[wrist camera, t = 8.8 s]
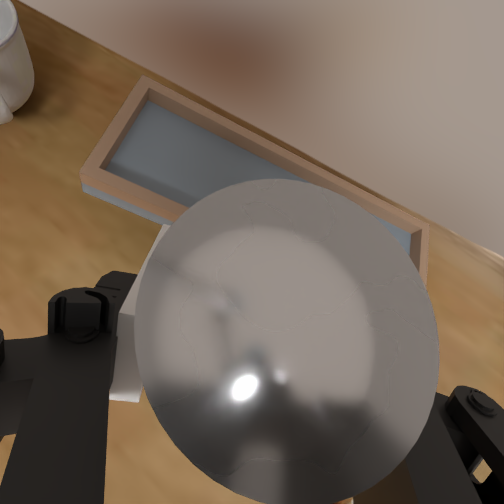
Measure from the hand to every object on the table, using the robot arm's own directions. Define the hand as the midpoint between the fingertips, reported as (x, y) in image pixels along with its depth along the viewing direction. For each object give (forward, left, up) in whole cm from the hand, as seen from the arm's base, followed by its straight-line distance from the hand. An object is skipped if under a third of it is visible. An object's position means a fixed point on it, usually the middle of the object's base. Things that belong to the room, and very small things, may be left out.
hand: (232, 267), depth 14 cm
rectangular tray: (+2, +9, -8) cm, 12 cm away
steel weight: (+1, -4, -3) cm, 5 cm away
